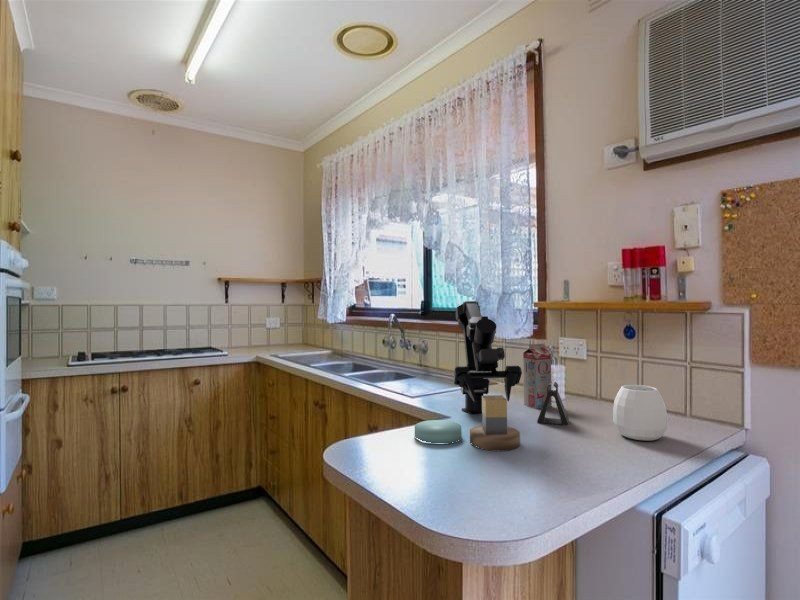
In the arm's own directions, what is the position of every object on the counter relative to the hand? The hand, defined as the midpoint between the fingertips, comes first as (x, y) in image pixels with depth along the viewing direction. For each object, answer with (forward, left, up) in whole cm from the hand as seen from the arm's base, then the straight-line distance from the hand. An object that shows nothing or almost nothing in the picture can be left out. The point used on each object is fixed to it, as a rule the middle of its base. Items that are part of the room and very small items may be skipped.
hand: (491, 400), depth 123 cm
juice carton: (-23, +37, -11) cm, 45 cm away
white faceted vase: (+17, +37, -11) cm, 42 cm away
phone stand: (-5, +27, -11) cm, 29 cm away
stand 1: (-8, -12, -10) cm, 18 cm away
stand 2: (+3, -1, -10) cm, 11 cm away
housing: (+3, -1, -7) cm, 8 cm away
